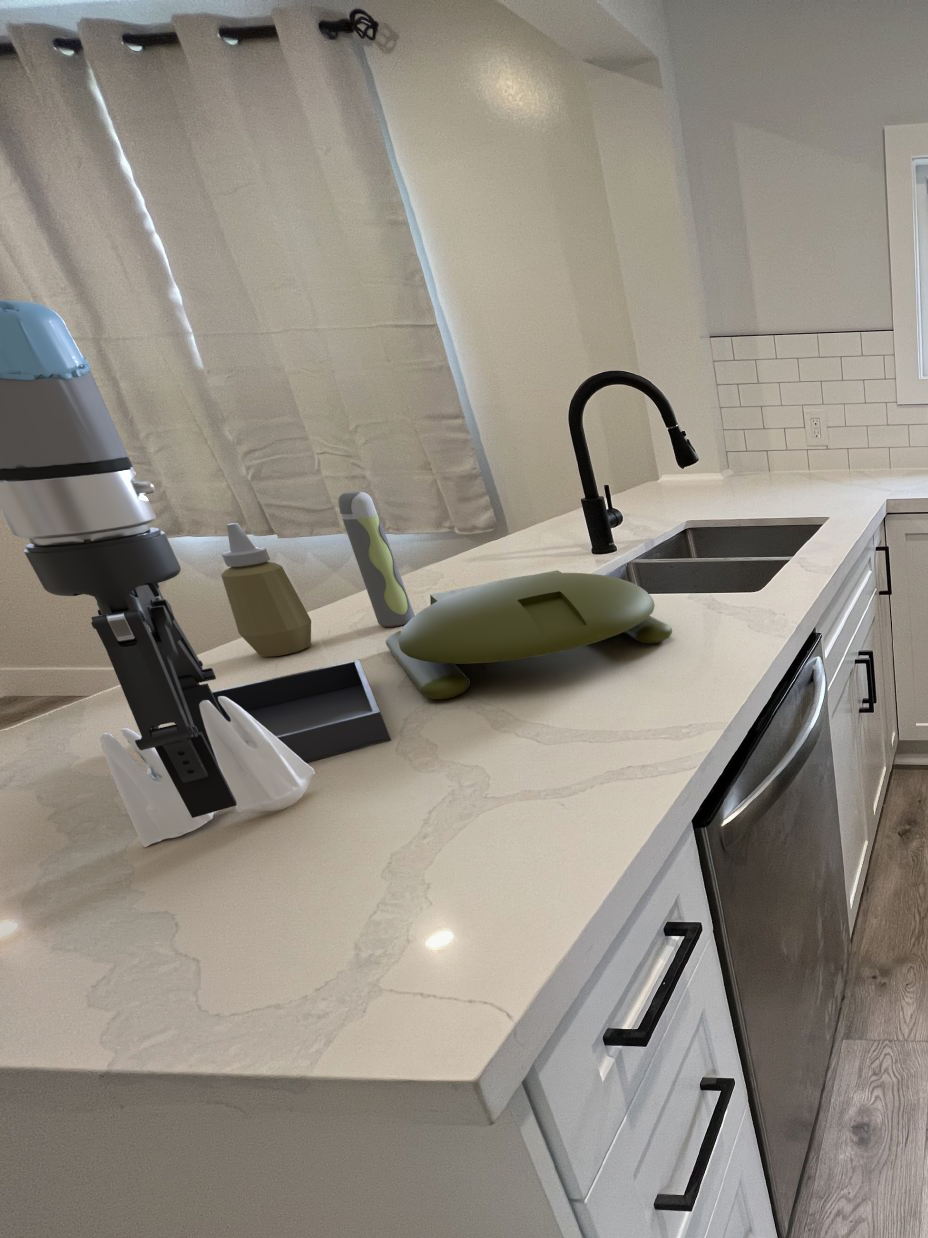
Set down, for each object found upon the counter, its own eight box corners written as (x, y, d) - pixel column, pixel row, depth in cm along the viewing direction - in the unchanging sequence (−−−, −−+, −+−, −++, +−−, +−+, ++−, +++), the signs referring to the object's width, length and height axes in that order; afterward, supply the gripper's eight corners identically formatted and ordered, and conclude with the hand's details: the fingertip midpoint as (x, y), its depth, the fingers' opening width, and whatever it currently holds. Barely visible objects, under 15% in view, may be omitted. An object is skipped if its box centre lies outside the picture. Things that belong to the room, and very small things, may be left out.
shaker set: (324, 787, 72) (277, 679, 67) (316, 807, 68) (266, 695, 64) (157, 825, 66) (93, 711, 62) (140, 849, 63) (71, 731, 58)
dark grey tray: (198, 723, 86) (185, 697, 85) (368, 683, 95) (359, 659, 94) (187, 795, 71) (171, 764, 70) (390, 739, 80) (380, 711, 79)
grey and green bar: (423, 620, 119) (379, 490, 111) (392, 629, 115) (344, 495, 107) (403, 617, 121) (359, 489, 113) (372, 626, 117) (323, 494, 109)
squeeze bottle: (234, 660, 105) (174, 530, 97) (288, 640, 112) (237, 518, 105) (283, 661, 104) (226, 530, 96) (334, 641, 111) (286, 518, 103)
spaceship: (385, 648, 107) (361, 581, 103) (603, 600, 126) (590, 541, 122) (440, 724, 83) (410, 641, 79) (699, 651, 102) (686, 580, 98)
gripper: (145, 550, 50) (275, 821, 59) (172, 506, 67) (269, 720, 76) (-24, 572, 46) (144, 860, 55) (51, 519, 63) (169, 744, 72)
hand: (217, 779), depth 66 cm, fingers open, 13 cm apart
